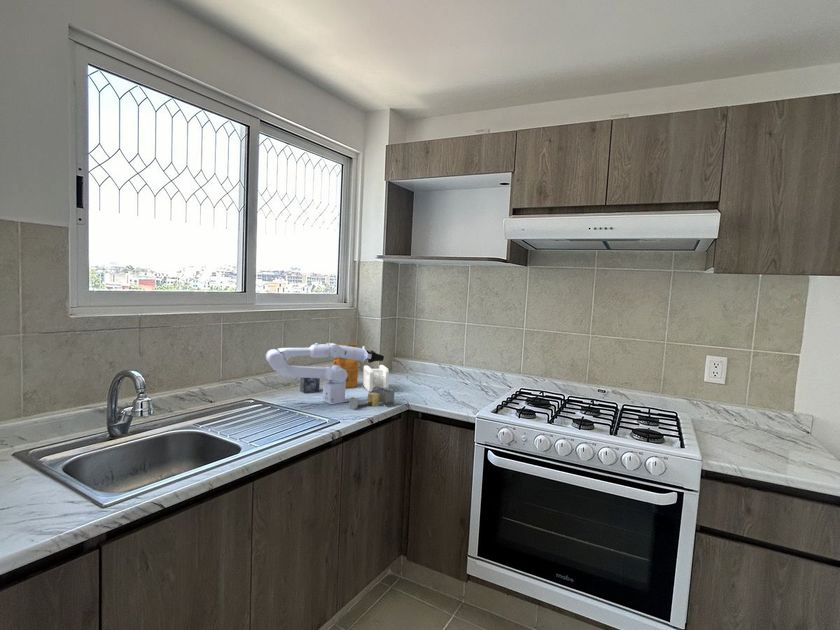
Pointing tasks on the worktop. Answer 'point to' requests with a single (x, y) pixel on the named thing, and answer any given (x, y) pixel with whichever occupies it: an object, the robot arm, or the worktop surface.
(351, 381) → the coffee package
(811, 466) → the worktop surface
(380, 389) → the housing
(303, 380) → the box
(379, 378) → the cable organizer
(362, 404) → the plug
